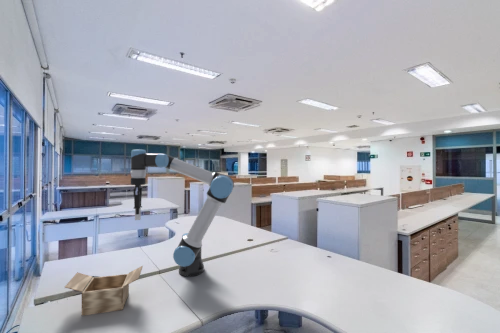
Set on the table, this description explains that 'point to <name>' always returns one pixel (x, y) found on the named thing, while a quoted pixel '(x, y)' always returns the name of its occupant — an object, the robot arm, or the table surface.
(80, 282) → the far side flap
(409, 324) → the table surface
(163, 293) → the table surface
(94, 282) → the carton
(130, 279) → the flap
